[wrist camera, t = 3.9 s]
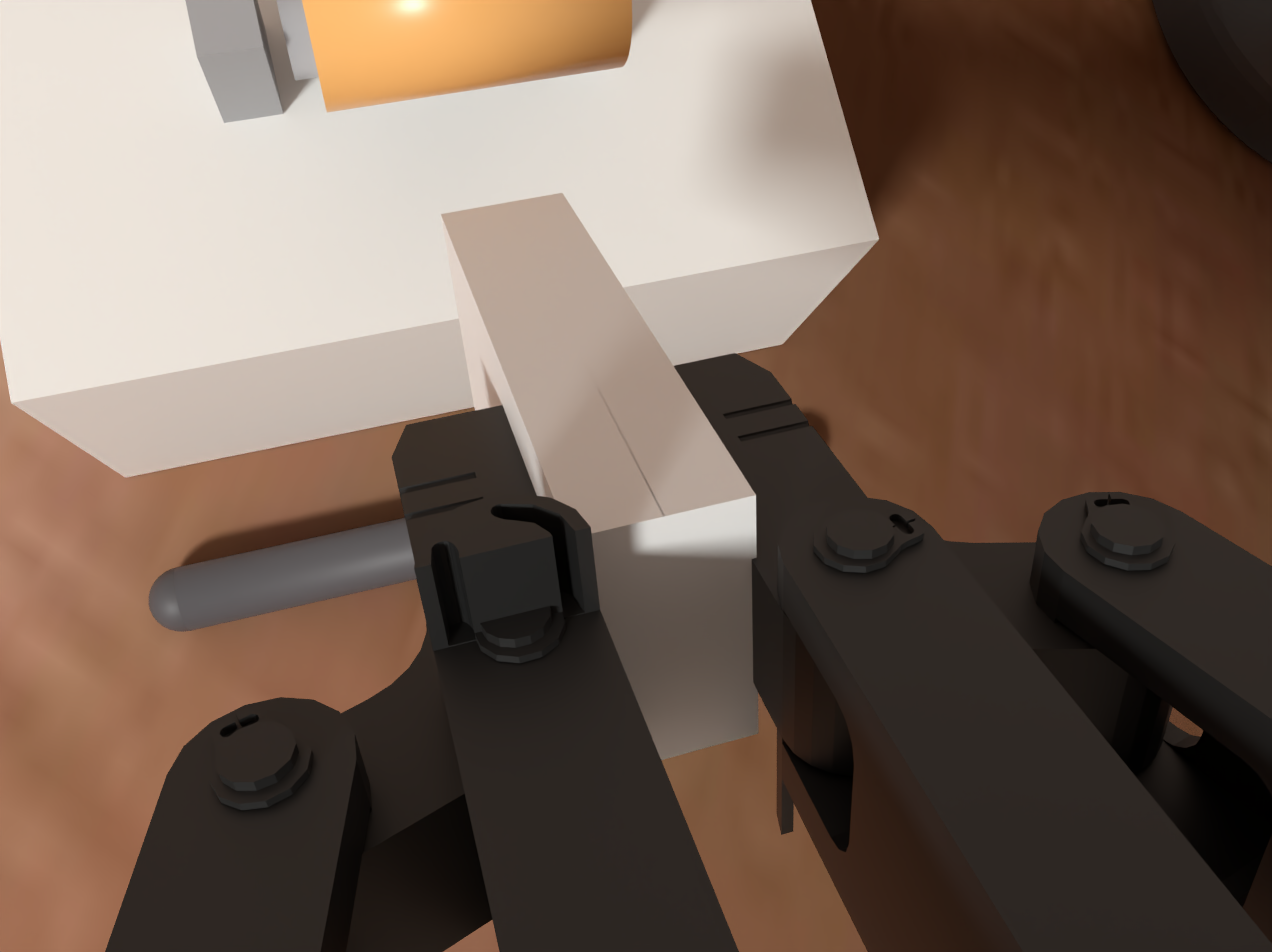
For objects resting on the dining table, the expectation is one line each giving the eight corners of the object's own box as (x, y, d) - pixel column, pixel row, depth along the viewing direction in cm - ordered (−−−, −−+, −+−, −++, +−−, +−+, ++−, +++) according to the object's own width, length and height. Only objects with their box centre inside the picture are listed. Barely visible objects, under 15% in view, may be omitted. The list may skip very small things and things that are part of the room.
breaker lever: (514, -62, 25) (654, -144, 14) (533, 59, 26) (678, 63, 15) (271, -29, 24) (235, -93, 14) (299, 94, 25) (285, 123, 14)
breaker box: (680, -35, 35) (770, -334, 25) (821, 489, 33) (984, 397, 23) (47, 52, 32) (-147, -251, 22) (155, 641, 30) (-5, 613, 20)
